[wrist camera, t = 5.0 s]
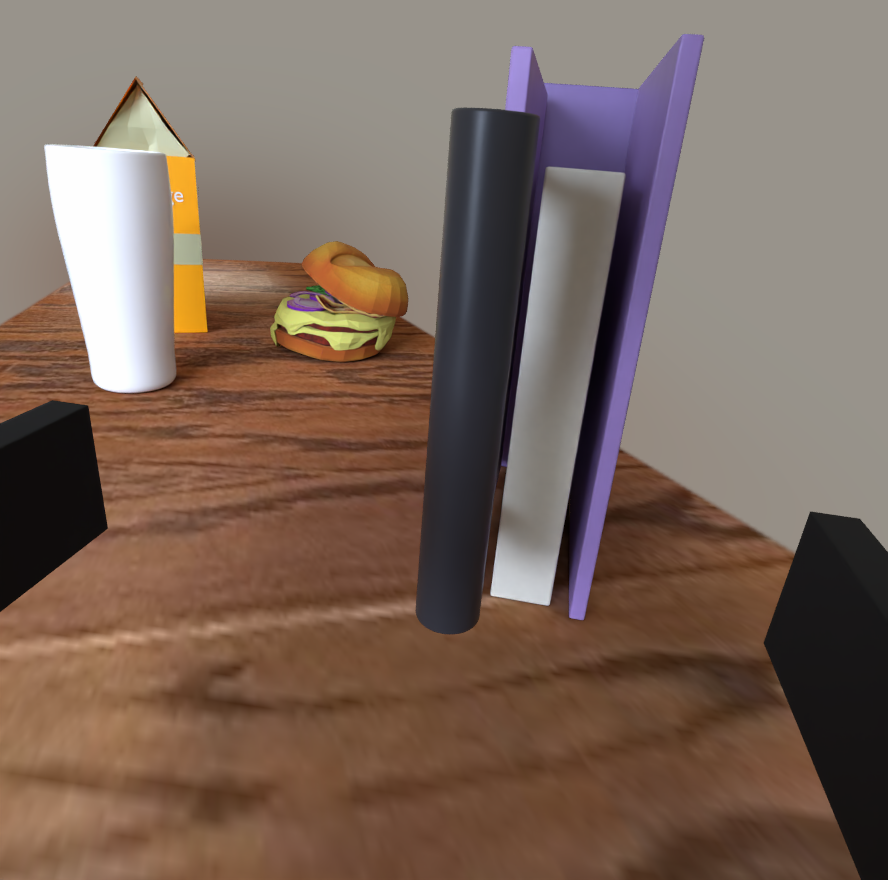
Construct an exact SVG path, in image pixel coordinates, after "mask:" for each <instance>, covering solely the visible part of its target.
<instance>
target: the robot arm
mask: <svg viewBox="0 0 888 880" xmlns="http://www.w3.org/2000/svg"><path fill="white" fill-rule="evenodd" d="M106 529H108V527H107V520H106V514H105V508H104V502H103V495H102V489H101V483H100V477H99V471H98V464H97V458H96V452H95V446H94V439H93V433H92V427H91V421H90V414H89V408H88V406H87V405H80V404H74V403H67V402H60V401H53V400H52V401H50V402H48V403H45V404H43V405H41V406H39V407H36V408H34V409H32V410H30V411H27V412H25V413H23V414H21V415H18V416H16V417H14V418H12V419H9V420H7V421H5V422H3V423H0V612H1V611H2V610H3V609H5V608H6V607H7V606H8V605H10V604H11V603H12V602H14V601H15V600H16V599H17V598H19V597H20V596H21V595H23V594H24V593H25V592H27V591H28V590H29V589H30V588H32V587H33V586H34V585H36V584H37V583H38V582H39V581H41V580H42V579H43V578H45V577H46V576H47V575H48V574H50V573H51V572H52V571H54V570H55V569H56V568H57V567H59V566H60V565H61V564H63V563H64V562H65V561H66V560H68V559H69V558H70V557H72V556H73V555H74V554H75V553H77V552H78V551H79V550H81V549H82V548H83V547H84V546H86V545H87V544H88V543H90V542H91V541H92V540H93V539H95V538H96V537H97V536H99V535H100V534H101V533H102V532H104V531H105V530H106ZM764 645H765V647H766V650H767V652H768V654H769V657H770V659H771V662H772V664H773V667H774V669H775V671H776V674H777V676H778V679H779V681H780V684H781V686H782V688H783V691H784V693H785V696H786V698H787V701H788V703H789V705H790V708H791V710H792V713H793V715H794V718H795V720H796V722H797V725H798V727H799V730H800V732H801V735H802V737H803V739H804V742H805V744H806V747H807V749H808V752H809V754H810V756H811V759H812V761H813V764H814V766H815V769H816V771H817V774H818V776H819V778H820V781H821V783H822V786H823V788H824V791H825V793H826V795H827V798H828V800H829V803H830V805H831V808H832V810H833V812H834V815H835V817H836V820H837V822H838V825H839V827H840V829H841V832H842V834H843V837H844V839H845V842H846V844H847V846H848V849H849V851H850V854H851V856H852V859H853V861H854V863H855V866H856V868H857V871H858V873H859V876H860V878H861V880H888V552H887V551H886V550H885V548H884V547H883V546H882V545H881V544H880V542H879V541H878V540H877V539H876V538H875V536H874V535H873V534H872V533H871V532H870V530H869V529H868V528H867V527H866V526H865V524H864V523H863V522H862V521H861V520H860V519H857V518H851V517H844V516H837V515H830V514H823V513H816V512H810V514H809V517H808V519H807V522H806V525H805V528H804V531H803V533H802V536H801V539H800V542H799V545H798V547H797V550H796V553H795V556H794V559H793V562H792V564H791V567H790V570H789V573H788V576H787V578H786V581H785V584H784V587H783V590H782V593H781V595H780V598H779V601H778V604H777V607H776V610H775V612H774V615H773V618H772V621H771V624H770V626H769V629H768V632H767V635H766V638H765V641H764Z"/></svg>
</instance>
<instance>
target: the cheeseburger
mask: <svg viewBox="0 0 888 880" xmlns="http://www.w3.org/2000/svg"><path fill="white" fill-rule="evenodd" d="M302 266H303V268H304V269H305V271H306V272H307V273H308V274H309V275H310V277H311V278H312V279H313V280H314V281H315V282H316V283H317V284H318V286H311V287H307V288H306V290H310V291H313V292H308V291H301V292H295V293H292V294H290V296H289V297H286V298H284V299H283V300H282V302H281V303H280V305H279V307H278V309H277V311H276V314H275V316H274V318H275V322H274V324H273V325H272V326H271V337H272V339H273V341H274V343H275V345H276V346H277V347H278V346H281V345H282V346H284V347H285V348H287V349H289V350H292V351H295V352H297V353H300V354H303V355H306V356H310V357H313V358H316V359H319V360H326V361H335V362H347V361H356V360H361V359H364V358H368V357H371V356H373V355H376V354H377V353H378V352H379V351H381V350H382V348H383V347H384V346H385V345H386V343H387V342H388V340H389V339H390V338H391V335H392V330H393V327H394V324H395V320H396V317H400V316H403V315H405V314H406V312H407V307H408V294H407V289H406V284H405V283H404V281H403V279H402V278H401V277H400V275H399V274H398V273H396V272H395V271H393V270H390V269H385V268H378V267H375V266H374V264H373V263H372V262H371V261H370V260H369V258H368V257H367V256H366V255H364V254H363V253H362V252H361V251H359V250H357V249H356V248H354V247H352V246H349V245H347V244H344V243H342V242H338V241H335V242H328V243H326V244H324V245H322V246H320V247H319V248H317V249H315V250H313V251H312V252H311V253H310V254H308V256H306V257H305V258H304V260H303V262H302Z"/></svg>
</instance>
